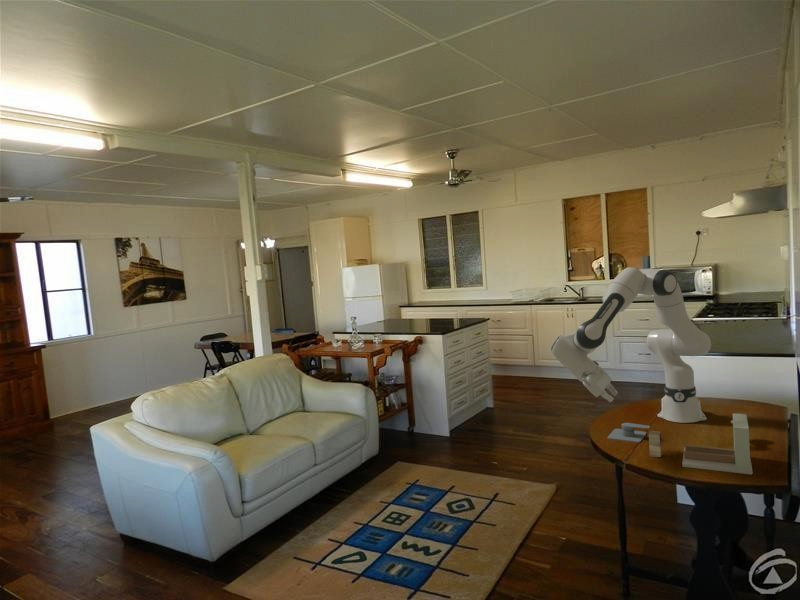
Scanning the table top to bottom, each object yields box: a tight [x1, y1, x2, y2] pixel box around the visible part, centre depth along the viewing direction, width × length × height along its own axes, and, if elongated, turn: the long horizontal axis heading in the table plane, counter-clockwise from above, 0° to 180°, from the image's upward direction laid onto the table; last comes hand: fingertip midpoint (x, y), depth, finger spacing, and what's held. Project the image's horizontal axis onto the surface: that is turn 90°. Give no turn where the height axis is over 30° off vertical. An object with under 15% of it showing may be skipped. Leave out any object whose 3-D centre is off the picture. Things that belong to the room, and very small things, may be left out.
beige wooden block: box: [648, 430, 663, 458], centre depth 190 cm, size 4×4×8 cm
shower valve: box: [607, 422, 651, 444], centre depth 211 cm, size 12×6×15 cm
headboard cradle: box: [681, 413, 753, 475], centre depth 180 cm, size 16×20×15 cm
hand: (614, 397), depth 196 cm, fingers open, 8 cm apart
